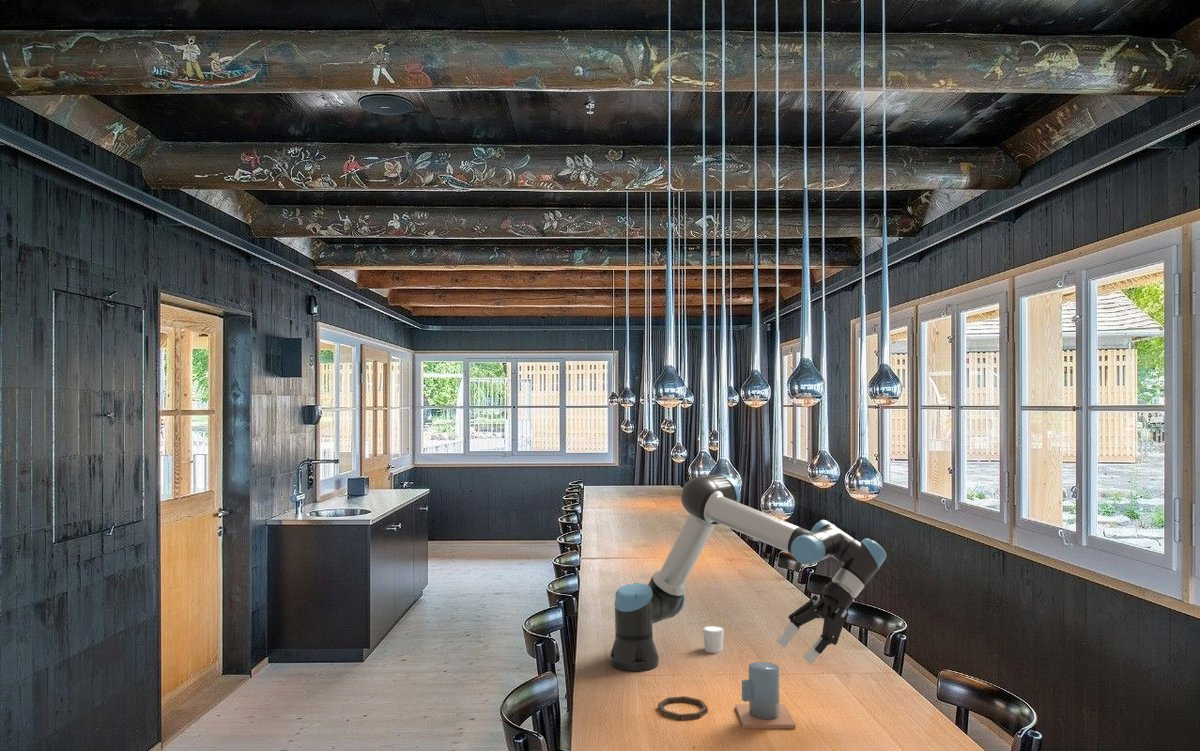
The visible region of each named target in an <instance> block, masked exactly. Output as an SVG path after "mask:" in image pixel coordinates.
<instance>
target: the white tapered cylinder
mask: <svg viewBox="0 0 1200 751" xmlns="http://www.w3.org/2000/svg"><path fill="white" fill-rule="evenodd" d="M724 630H725V629H724V627H722V626H718V625H717V626H716V625H708V626H704V627H702V632H703V642H704V650H705V651H706V652H707V653H713V654H718V653H721V652H723V648H724V647H723V645H724V634H725V631H724ZM705 651H704V652H705Z"/></svg>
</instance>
